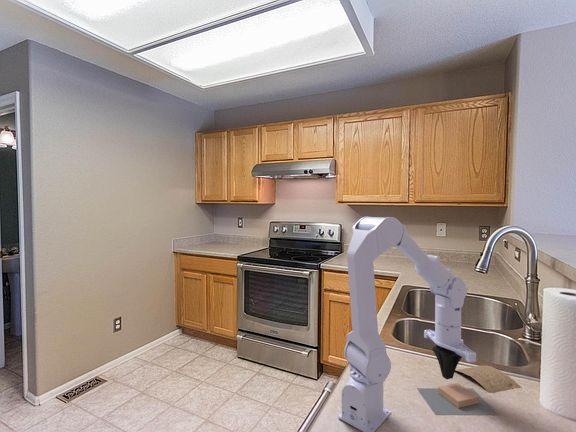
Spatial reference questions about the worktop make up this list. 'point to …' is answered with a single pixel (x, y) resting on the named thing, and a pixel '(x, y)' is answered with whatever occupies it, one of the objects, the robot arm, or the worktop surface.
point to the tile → (458, 395)
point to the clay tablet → (490, 378)
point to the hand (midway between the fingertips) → (447, 377)
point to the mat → (447, 408)
